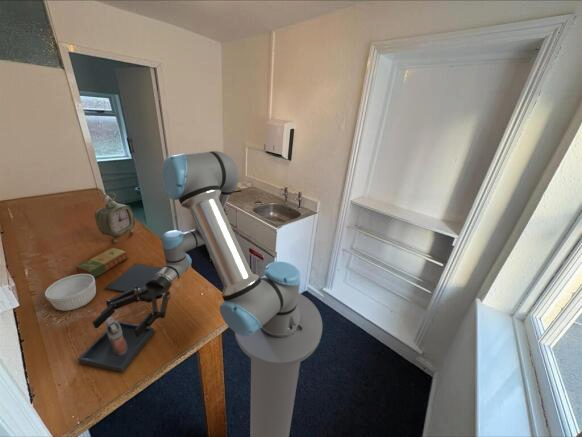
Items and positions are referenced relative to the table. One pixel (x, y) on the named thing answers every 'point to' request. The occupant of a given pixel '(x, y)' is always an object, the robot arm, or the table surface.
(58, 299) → the ramekin
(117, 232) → the tabletop clock
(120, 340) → the lighter
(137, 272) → the mat
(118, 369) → the tray
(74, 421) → the table surface
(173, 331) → the table surface
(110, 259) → the carton
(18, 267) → the table surface
